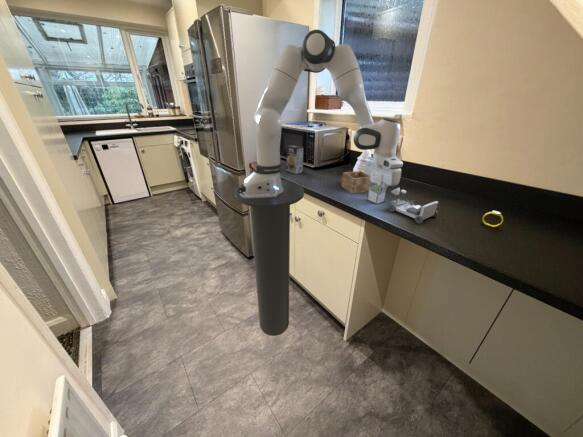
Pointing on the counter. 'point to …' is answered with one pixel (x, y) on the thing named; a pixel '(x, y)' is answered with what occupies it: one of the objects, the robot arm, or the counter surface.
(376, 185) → the syrup box
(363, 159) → the honey pot
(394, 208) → the toy car
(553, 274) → the counter surface
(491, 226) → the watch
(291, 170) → the coffee box
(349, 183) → the box
